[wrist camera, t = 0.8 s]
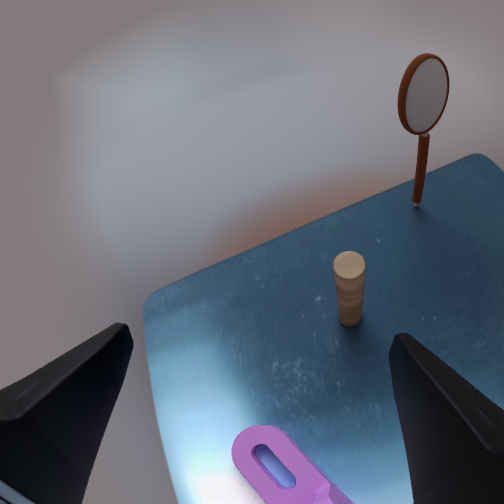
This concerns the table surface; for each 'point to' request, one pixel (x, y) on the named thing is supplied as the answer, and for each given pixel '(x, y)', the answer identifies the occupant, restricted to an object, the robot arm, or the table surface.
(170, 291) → the table surface
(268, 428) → the bracket
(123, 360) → the robot arm
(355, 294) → the stirring stick
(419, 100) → the magnifying glass
